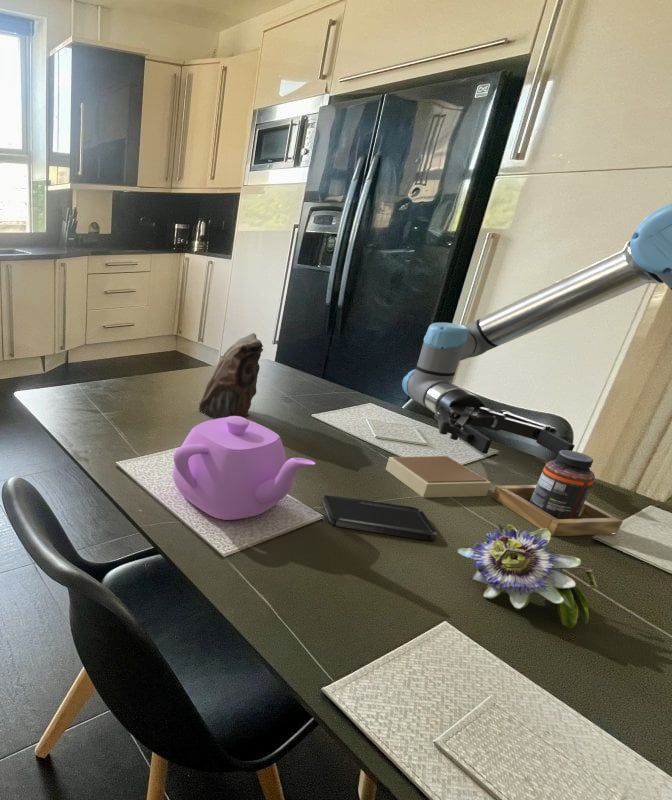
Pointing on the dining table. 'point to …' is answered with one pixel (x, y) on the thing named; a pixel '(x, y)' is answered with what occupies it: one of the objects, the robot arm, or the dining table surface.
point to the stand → (437, 476)
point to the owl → (233, 380)
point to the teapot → (234, 468)
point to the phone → (378, 517)
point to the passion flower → (528, 571)
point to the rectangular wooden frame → (591, 523)
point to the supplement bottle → (564, 485)
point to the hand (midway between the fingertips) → (528, 449)
